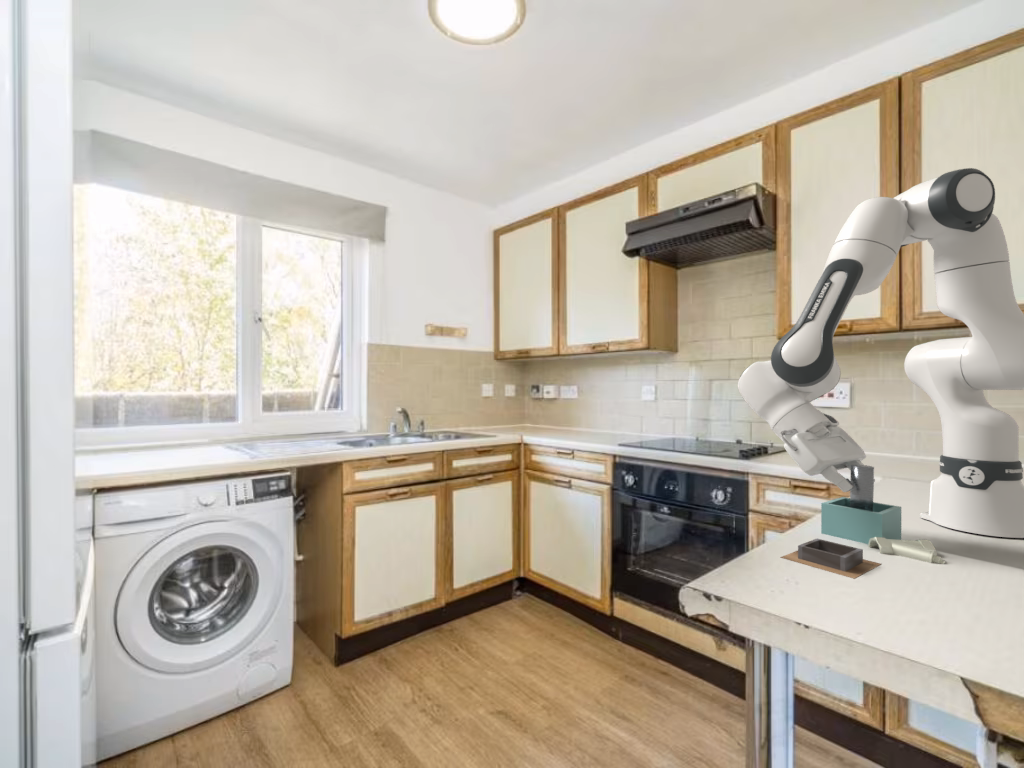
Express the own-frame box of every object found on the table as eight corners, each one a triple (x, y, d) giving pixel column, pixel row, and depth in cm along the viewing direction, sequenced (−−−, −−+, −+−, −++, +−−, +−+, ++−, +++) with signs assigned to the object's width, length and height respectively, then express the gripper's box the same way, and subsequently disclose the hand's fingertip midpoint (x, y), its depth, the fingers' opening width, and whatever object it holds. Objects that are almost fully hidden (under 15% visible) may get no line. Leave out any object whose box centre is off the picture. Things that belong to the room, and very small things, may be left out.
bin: (842, 533, 93) (842, 496, 93) (901, 546, 85) (901, 506, 85) (821, 541, 87) (821, 503, 88) (881, 556, 80) (881, 514, 80)
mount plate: (809, 554, 80) (810, 533, 80) (881, 573, 72) (881, 550, 72) (780, 566, 75) (780, 544, 75) (854, 589, 66) (854, 564, 66)
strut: (852, 532, 89) (853, 463, 89) (879, 539, 86) (880, 467, 86) (842, 536, 87) (844, 465, 87) (869, 543, 83) (871, 469, 83)
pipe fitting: (951, 578, 72) (921, 559, 79) (953, 553, 72) (922, 536, 79) (892, 574, 74) (867, 555, 80) (894, 549, 73) (869, 533, 80)
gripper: (789, 420, 87) (851, 482, 79) (837, 416, 98) (895, 471, 90) (764, 442, 90) (821, 504, 82) (813, 436, 102) (868, 490, 94)
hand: (860, 486), depth 86 cm, fingers open, 8 cm apart
